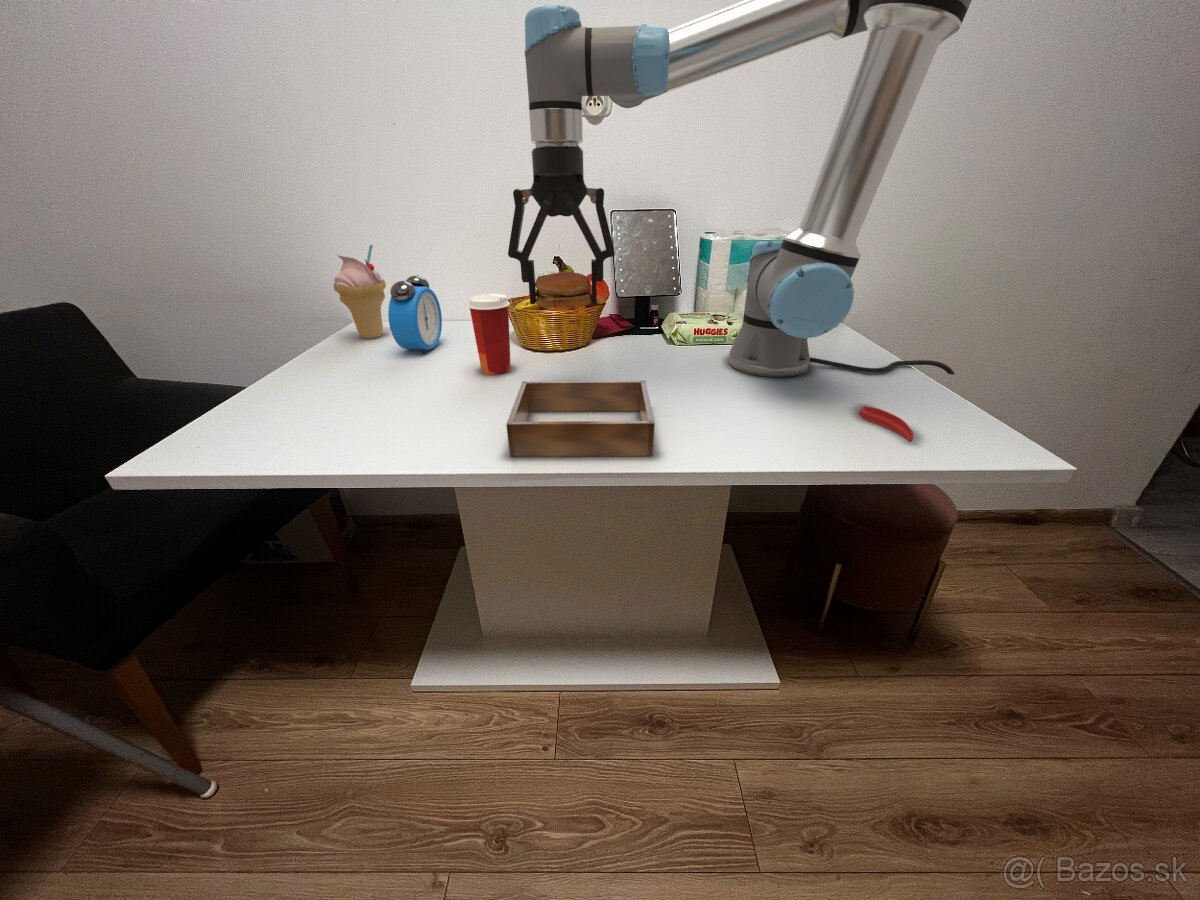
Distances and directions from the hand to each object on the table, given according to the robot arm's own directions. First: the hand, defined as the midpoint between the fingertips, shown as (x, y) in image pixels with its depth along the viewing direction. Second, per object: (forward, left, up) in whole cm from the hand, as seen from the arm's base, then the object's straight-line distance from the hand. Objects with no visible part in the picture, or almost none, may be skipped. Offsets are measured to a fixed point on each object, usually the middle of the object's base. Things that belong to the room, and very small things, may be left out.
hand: (563, 302), depth 85 cm
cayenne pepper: (-49, +16, -15) cm, 54 cm away
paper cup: (+15, -9, -15) cm, 23 cm away
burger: (0, 0, 0) cm, 0 cm away
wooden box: (-3, +18, -15) cm, 24 cm away
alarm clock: (+34, -23, -15) cm, 43 cm away
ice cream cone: (+49, -33, -15) cm, 61 cm away
